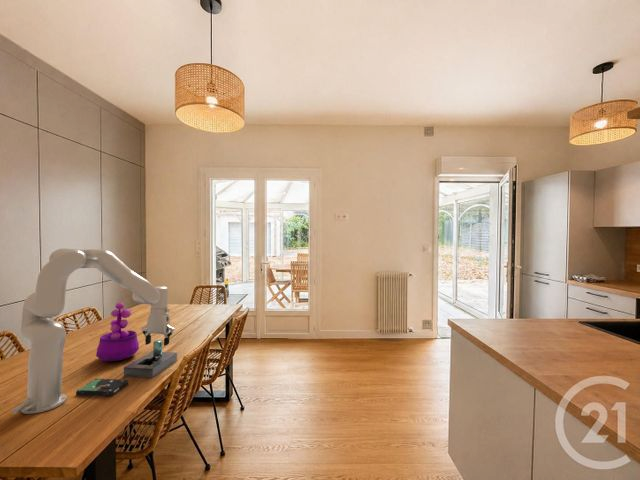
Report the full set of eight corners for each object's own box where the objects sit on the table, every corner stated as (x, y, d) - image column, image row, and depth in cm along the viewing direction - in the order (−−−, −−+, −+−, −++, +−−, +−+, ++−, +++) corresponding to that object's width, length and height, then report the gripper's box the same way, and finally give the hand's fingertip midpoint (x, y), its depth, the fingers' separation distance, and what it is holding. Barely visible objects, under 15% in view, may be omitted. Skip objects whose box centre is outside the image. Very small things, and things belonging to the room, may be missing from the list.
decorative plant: (134, 349, 167) (136, 297, 167) (142, 358, 153) (144, 302, 154) (93, 357, 153) (95, 301, 154) (98, 369, 140) (100, 307, 141)
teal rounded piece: (159, 366, 145) (159, 343, 145) (149, 366, 145) (150, 342, 145) (164, 362, 150) (165, 339, 150) (155, 362, 150) (156, 339, 150)
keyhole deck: (152, 378, 132) (152, 368, 133) (123, 376, 133) (123, 367, 133) (176, 360, 152) (177, 352, 152) (151, 359, 153) (151, 351, 153)
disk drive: (128, 385, 126) (95, 384, 126) (129, 379, 126) (95, 377, 126) (111, 398, 116) (75, 396, 116) (111, 391, 116) (75, 390, 116)
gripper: (179, 310, 151) (177, 343, 150) (147, 308, 152) (145, 341, 151) (170, 313, 143) (169, 347, 143) (137, 311, 144) (135, 346, 144)
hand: (157, 344), depth 147 cm, fingers open, 9 cm apart
